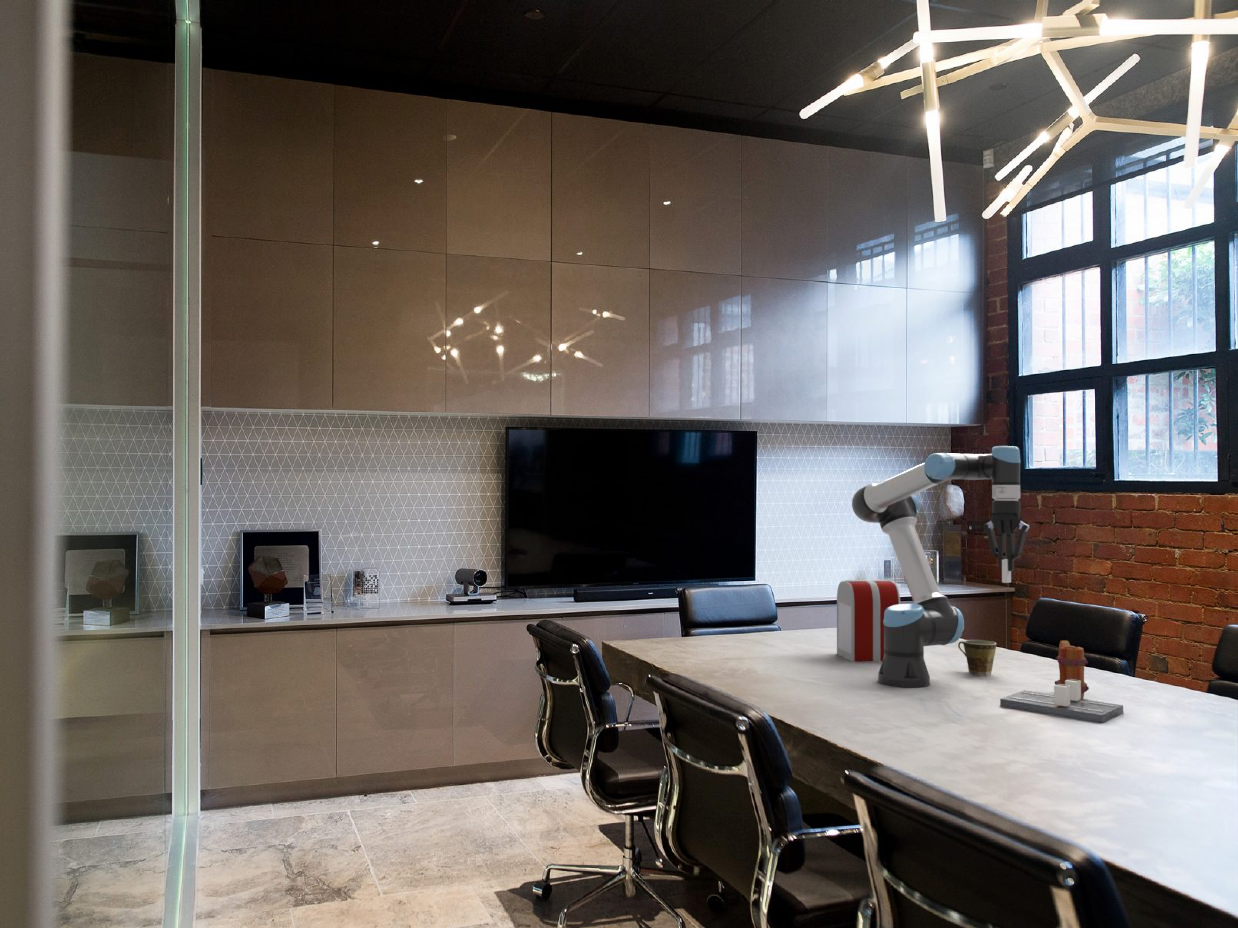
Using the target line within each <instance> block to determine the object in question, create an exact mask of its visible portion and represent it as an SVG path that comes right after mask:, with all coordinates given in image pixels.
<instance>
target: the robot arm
mask: <svg viewBox="0 0 1238 928" xmlns="http://www.w3.org/2000/svg"><path fill="white" fill-rule="evenodd" d="M1020 452H1021V451H1020V448H1019V447H1018V446H1015V445H1014V446H1013V445H1012V446H1010V445H1009V446H1008V445H999V446H998V445H997V446H993V447H992V449H991V452H990V453H984V454H983V453H978V454H977V453H975V454H974V453H949V452H935V453H932V454H929V455H928V456H927V458H926V459H925V461H924V462H923V463H921V464H918V465H916V466H914V467H912V468H909V469H908V470H905V471H903V472H901V473H899V474H897V475H895V476H892V477H891V478H888V479H886V480H884V481H882V482H879V483H870V484H867V485H865V486H863V487H861V488H859V489H858V490H856V492H855V494H854V495H853V497H852V499H851V507H852V511H853V513H854V514H855V516H856V517H857V518H858V519H860V520H862V521H863V522H866V523H872V524H873V523H875V524H877V523H879V526H880V529H881V532H882V533H884V534H886V535H888V537H889V540H890V543H891V546H892V548H893V551H894V553H895V555H896V559H897V561H898V564H899V566H900V569H901V572H902V575H903V577H904V579H905V582H906V585H907V588H908V592H909V594H910V596H911V599H912V603H900V604H898V605H893V606H890V607H888V608H887V609H886V610H885V612H884V620H883V623H884V658H883V661H881V664H880V667H879V671H878V673H877V681H878V682H879V683H880V684H883V685H888V686H893V687H900V688H901V687H903V688H921V687H922V688H923V687H927V686H930V684H931V681H930V680H931V677H930V674H929V669H928V667H927V664H926V661H925V657H924V655H925V653H924V651H925V649H924V648H925V647H932V646H933V647H934V646H947V645H950V644H953V643H956V642H957V641H959V639H960V638H962V635H963V631H964V630H965V620H964V616H963V613H962V612H961V610H960V609H959V608H957V607H955V606H954V605H951V604H950V602H949V599H948V597H947V596H945V594H944V595H943V594H941V591H940V590H939V587H938V584H937V582H936V579H935V577H934V573H933V572H932V569H931V566H930V563H929V561H928V559H927V556H926V553H925V551H924V548H923V545H922V543H921V541H920V538H919V535H918V532H917V530H916V527H915V526H916V524H917V522H918V519H917V517H918V515H919V508H920V507H919V506H920V504H919V501H918V498H917V497H916V494H918V493H920V492H924V491H925V490H928V489H930V488H933V487H934V486H937V485H940V484H942V483H944V482H947V481H950V480H968V481H976V480H980V481H981V480H991V490H992V491H991V492H992V493H991V494H992V495H991V498H992V499H994V500H993V501H992V502H991V512H992V516H991V518H990V521H988V522H986V523H983V525H982V527H983V528H984V530H985V531H986V535H987V539H988V543H989V548H990V552H991V556H992V557H995V559H996V558H997V559H998V569H999V571H1001V583H1003V584H1008V583H1012V572H1014V571H1015V560H1016V559H1019V558H1021V557H1022V554H1023V550H1024V544H1025V541H1026V537H1027V533H1028V532H1029V530H1030V528H1031V525H1030V524H1026V523H1025V522H1024V521H1023V519H1022V517H1021V502H1020V499H1021V461H1022V460H1021V453H1020ZM994 528H995V530H996V531H997V533H995V530H994ZM1018 528H1019V532H1018V536H1017V539H1016V538H1015V536H1016V531H1017V529H1018ZM996 534H997V537H996ZM1015 543H1016V544H1015Z"/></svg>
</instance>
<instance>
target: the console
mask: <svg viewBox="0 0 1238 928" xmlns="http://www.w3.org/2000/svg"><path fill="white" fill-rule="evenodd" d="M999 701H1000V702H999V704H1000V707H1003V708H1010V709H1014V710H1015V709H1016V710H1020V711H1027V712H1033V713H1040V714H1046V715H1051V716H1058V717H1064V718H1069V719H1070V718H1071V719H1075V720H1081V721H1089V722H1093V723H1099V724H1104V723H1105V722H1108V721H1109V720H1112V719H1114V718H1116V717H1119V716H1120V715H1122V714H1124V705H1122V704H1116V703H1112V702H1111V703H1110V702H1104V701H1097V700H1091V699H1083V698H1081V699H1080V700H1078V701H1074V700H1070V705H1068V706H1060V705H1054V694H1051V693H1044V692H1037V691H1032V690H1025V689H1024V690H1021V691H1018V692H1016V693H1012V694H1009V695H1007V696H1003V697H1002V698H999Z"/></svg>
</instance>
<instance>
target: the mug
mask: <svg viewBox="0 0 1238 928" xmlns="http://www.w3.org/2000/svg"><path fill="white" fill-rule="evenodd" d="M1084 650H1085V649H1084V648H1083V647H1080V646H1077V647H1076V646H1074V645H1071V644H1070V642H1069V640H1060V642H1059V646H1058V653H1057V654H1058V656H1056V657H1055V660H1056V661H1057V663H1058V670H1059V679H1058V680H1055V681H1054V685H1056V684H1062V685H1065V680H1067V679H1072V680H1079V681H1081V699H1083V698H1084V697H1085V693H1086V692H1087V691H1089V689H1090V687H1089V686H1088V684H1087V682H1085V666H1086V665H1088V663H1089V661H1088V660H1087V658H1086V657H1085V653H1084V652H1085V651H1084Z"/></svg>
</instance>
